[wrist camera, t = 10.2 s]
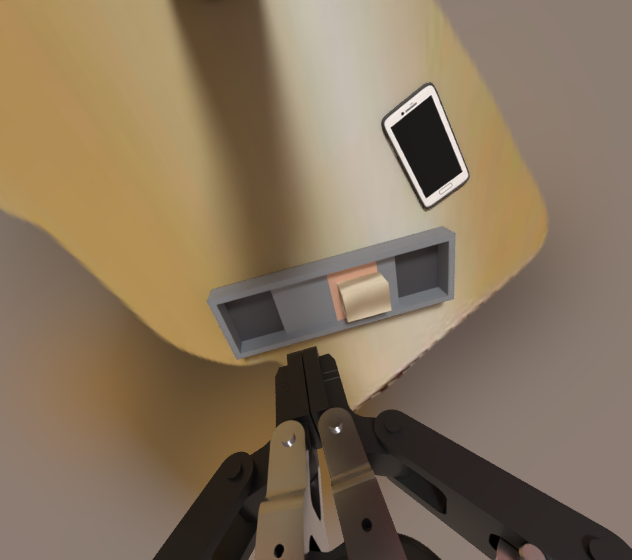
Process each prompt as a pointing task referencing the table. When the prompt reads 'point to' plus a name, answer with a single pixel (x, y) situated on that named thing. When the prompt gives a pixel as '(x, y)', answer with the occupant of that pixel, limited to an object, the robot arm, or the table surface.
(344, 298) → the birch block
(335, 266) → the channel
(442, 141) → the cell phone
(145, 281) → the table surface
